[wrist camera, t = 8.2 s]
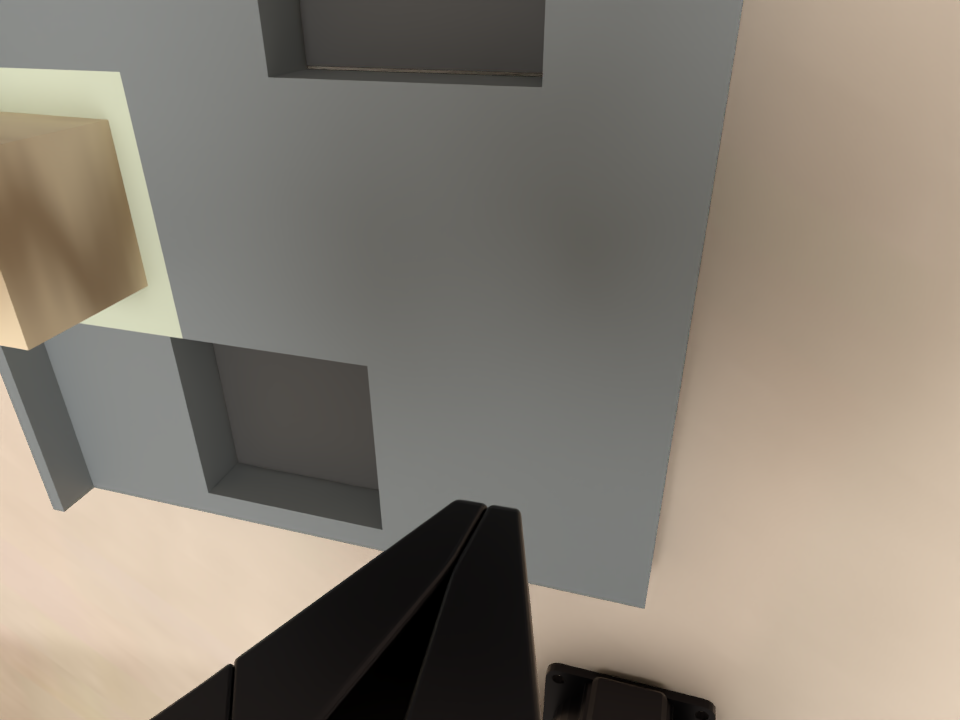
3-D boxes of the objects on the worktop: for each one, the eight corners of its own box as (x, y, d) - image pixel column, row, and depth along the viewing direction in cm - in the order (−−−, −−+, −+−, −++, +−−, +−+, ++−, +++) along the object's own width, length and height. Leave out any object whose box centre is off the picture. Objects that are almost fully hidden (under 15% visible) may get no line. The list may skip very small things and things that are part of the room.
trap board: (796, -358, 13) (822, -461, 10) (649, 564, 24) (640, 646, 21) (-104, -253, 18) (-263, -299, 15) (119, 456, 29) (53, 509, 26)
